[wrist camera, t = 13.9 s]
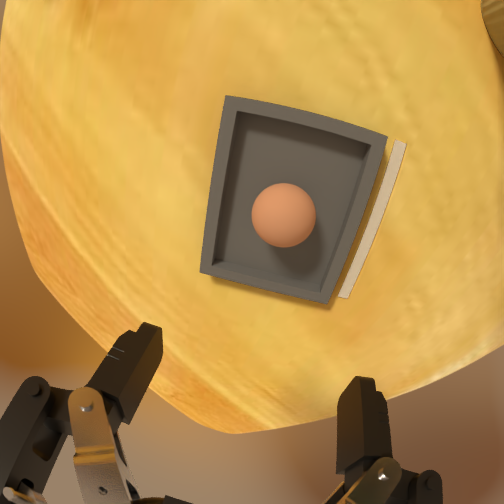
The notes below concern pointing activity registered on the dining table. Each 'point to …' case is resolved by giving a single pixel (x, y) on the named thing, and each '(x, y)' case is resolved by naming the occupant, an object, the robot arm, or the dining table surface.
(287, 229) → the ball
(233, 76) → the dining table surface
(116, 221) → the dining table surface
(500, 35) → the potted cactus
